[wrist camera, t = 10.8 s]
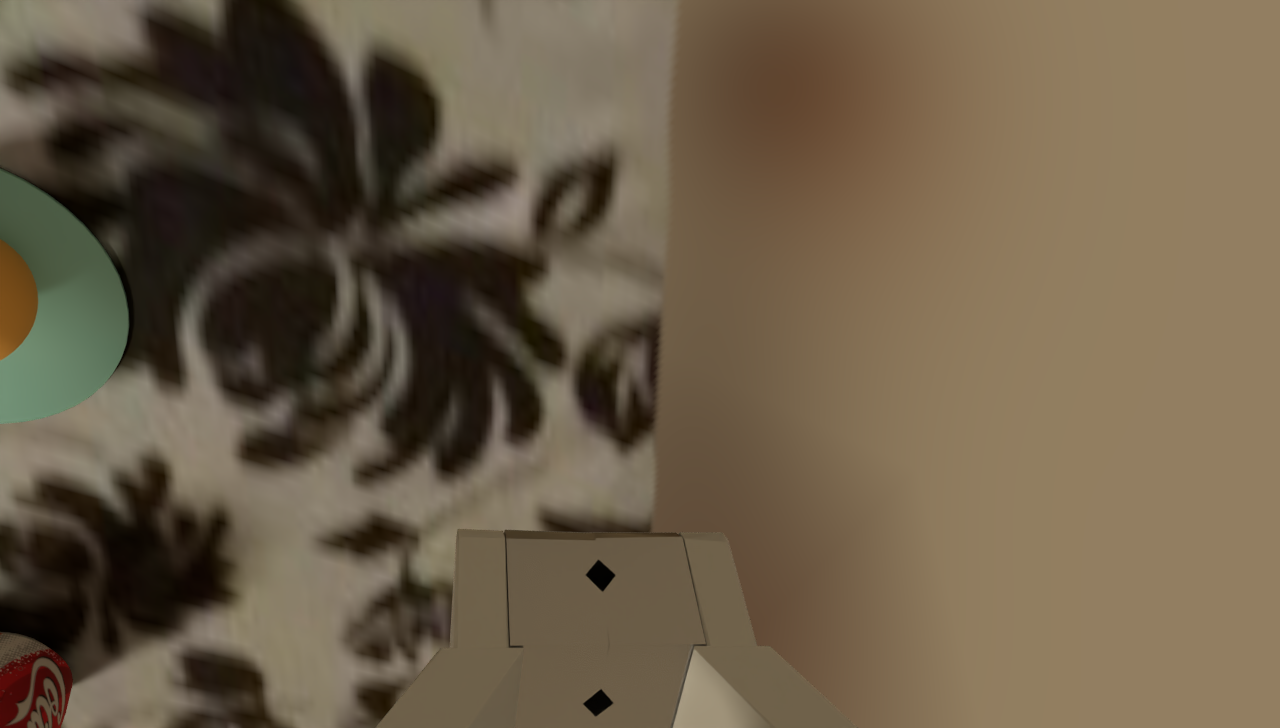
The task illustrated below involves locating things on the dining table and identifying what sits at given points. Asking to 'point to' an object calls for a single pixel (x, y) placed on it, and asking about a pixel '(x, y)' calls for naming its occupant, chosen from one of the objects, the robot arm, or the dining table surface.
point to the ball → (15, 300)
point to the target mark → (59, 307)
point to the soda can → (32, 683)
